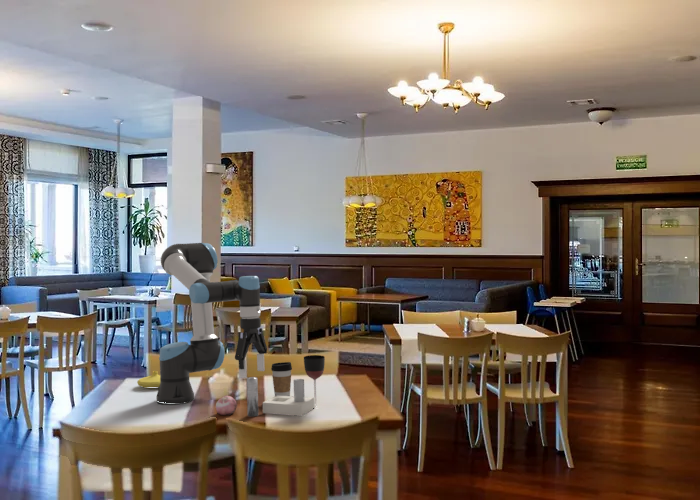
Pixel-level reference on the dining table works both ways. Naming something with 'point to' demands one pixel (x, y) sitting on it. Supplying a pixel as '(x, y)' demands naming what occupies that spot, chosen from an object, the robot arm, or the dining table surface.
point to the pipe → (252, 396)
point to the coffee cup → (282, 378)
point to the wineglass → (314, 369)
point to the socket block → (290, 402)
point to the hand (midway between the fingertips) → (252, 374)
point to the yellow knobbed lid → (150, 380)
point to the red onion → (226, 405)
